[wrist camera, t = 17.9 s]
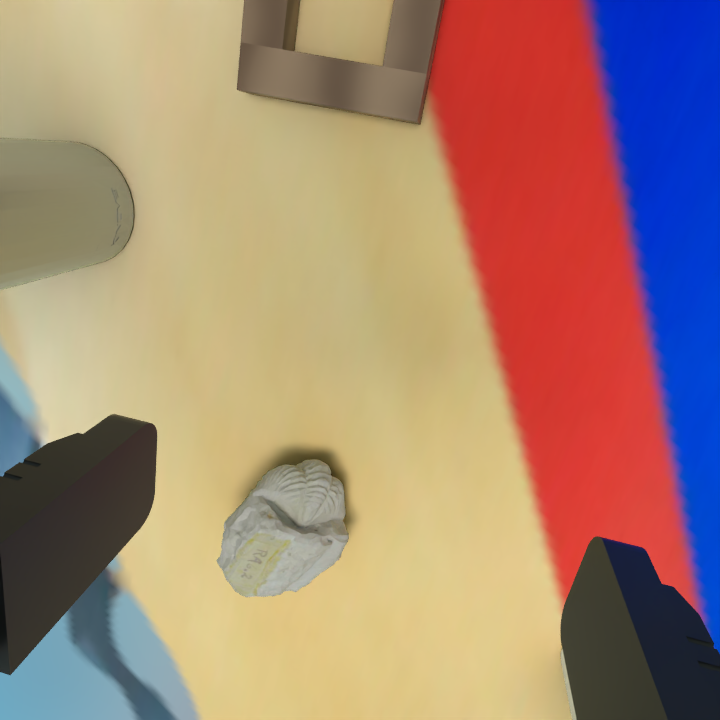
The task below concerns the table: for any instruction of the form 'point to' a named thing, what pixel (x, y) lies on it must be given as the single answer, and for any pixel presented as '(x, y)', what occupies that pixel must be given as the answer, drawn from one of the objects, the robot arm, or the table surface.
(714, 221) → the table surface
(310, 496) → the fossil replica
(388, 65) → the walnut stand
